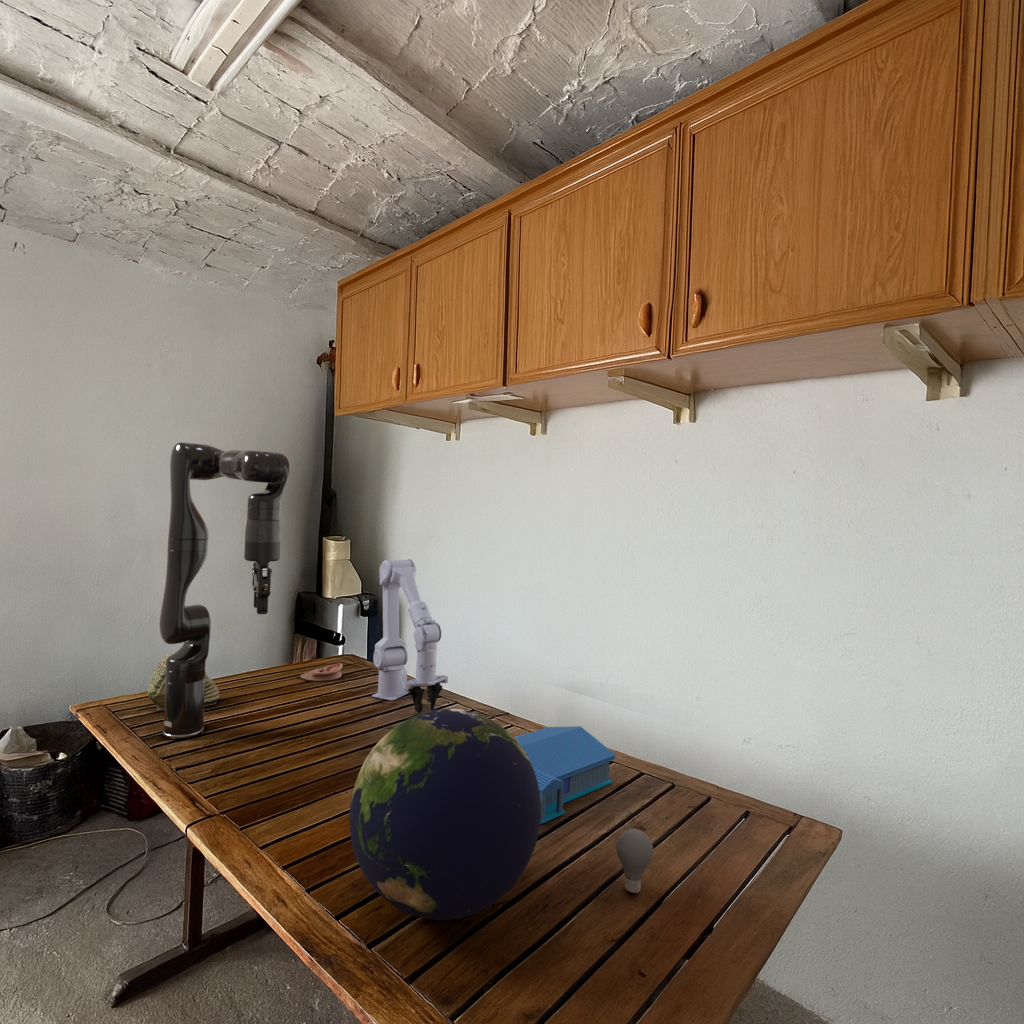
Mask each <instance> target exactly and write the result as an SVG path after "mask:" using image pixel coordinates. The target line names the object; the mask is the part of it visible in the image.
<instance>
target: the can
mask: <svg viewBox="0 0 1024 1024" xmlns="http://www.w3.org/2000/svg"><path fill="white" fill-rule="evenodd" d="M428 711H432V710H431V701H430V700H428V699H422V706H421V712H420V713H418V712H417V715H419V714H422V713H425V712H428Z"/></svg>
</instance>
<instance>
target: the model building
mask: <svg viewBox="0 0 1024 1024" xmlns="http://www.w3.org/2000/svg"><path fill="white" fill-rule="evenodd" d="M513 737H514V738H515V739H516V740H517V742H518V743H519V744H520V745H521V746H522V748H523V749H524V751H525V753H526V754H527V756H528V758H529V759H530V761H531V764H532V767H533V769H534V772H535V775H536V778H537V781H538V786H539V791H540V799H541V821H540V825H543V824H544V823H545V824H546V823H547V822H550V821H552V820H554V819H556V818H558V817H560V816H564V815H565V814H566V811H565V810H564V804H566V803H569V802H571V801H573V800H576V799H578V798H580V797H582V796H586V795H588V794H591V793H592V792H594V791H597V790H599V789H601V788H604V787H606V786H608V785H611V784H613V780H612V779H611V778H610V762H611V761H615V760H616V754H615V753H614V752H613V751H611V750H610V749H609V748H608V747H607V746H606V745H604V744H603V743H602V742H600V741H599V740H598V739H597V738H596V737H595V736H593V735H592V734H591V733H589V732H588V731H587V730H586V729H585V728H584V727H582V726H580V725H579V726H577V725H576V726H546V727H544V728H540V729H537V730H534V731H531V732H527V733H524V734H521V735H517V736H513Z"/></svg>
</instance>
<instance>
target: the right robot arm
mask: <svg viewBox="0 0 1024 1024" xmlns="http://www.w3.org/2000/svg"><path fill="white" fill-rule="evenodd" d="M416 575H417V568H416V564H415V562H414V561H413V559H410V558H408V559H385V560H383V561H382V562H381V564H380V565H379V585H380V586H382V638H381V639H380V640H379V641H377V642H376V643H375V645H374V651H373V657H372V658H373V659H372V660H373V665H374V666H375V667H376V669H377V670H378V680H377V692H376V693H374V694H371V697H372V698H375V699H376V698H377V699H380V700H381V699H382V700H387V701H395V700H397V699H400V698H401V697H403V696H405V695H408V694H410V696H411V699H412V702H413V706H414V711H415V713H417V714H418V713H420V712H421V706H422V700H423V697H424V695H425V690H423V689H422V688H423V687H426V690H427V700H430V701H431V711H433V710H435V709H434V708H435V706H436V703H437V700H438V697H439V695H440V693H441V692H442V690H443V685H441V684H448V683H449V682H448V680H449V676H447V675H445V674H441V675H436V673H437V671H436V670H437V653H438V651H437V649H438V643H439V642H440V641H441V638H442V629H441V625H440V624H439V622H437V621H436V620H435V619H433V617H432V614H431V612H430V610H429V608H428V605H427V603H426V602H425V601H422V599H421V596H420V593H419V590H418V589H419V588H418V586H417V582H416V579H415V578H416ZM400 588H401V591H402V592H403V594H404V596H405V598H406V600H407V602H408V604H409V607H408V609H407V612H408V614H409V616H410V617H409V618H410V619H411V622H412V624H413V627H414V632H413V639H414V647H415V650H416V667H415V668H416V669H415V678H411V679H409V680H408V672H407V669H406V667H405V666H406V665H407V663H408V661H409V652H408V649H407V643H406V642H405V641H404V640H403V639H402V638H400Z"/></svg>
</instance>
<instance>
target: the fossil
mask: <svg viewBox="0 0 1024 1024" xmlns="http://www.w3.org/2000/svg"><path fill="white" fill-rule="evenodd" d="M170 655H171V654H165V655H164V656H163V657H162V658H161V659H160V660H159V662H158V663H157V666H156V667H155V669H154V670H153V672H152V675H151V677H150V680H149V684H148V688H147V697H148V699H149V700H150V701H152V703H153V704H154V706H155V711H158V712H159V711H162V712H163V711H164V705H165V674H166V660H167V658H168V657H169V656H170ZM220 698H221V696H220V690H219V688H218V686H217V685H216V683H215V682H214V681H213V679H212V678H211V677H209V675H208V674H207V672H206V671H205V693H204V707H207V706H213V705H215V704H217V703H218V701H219V699H220Z"/></svg>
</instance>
